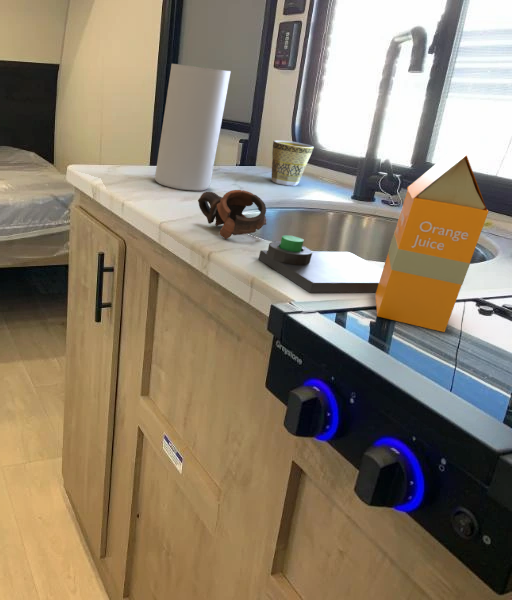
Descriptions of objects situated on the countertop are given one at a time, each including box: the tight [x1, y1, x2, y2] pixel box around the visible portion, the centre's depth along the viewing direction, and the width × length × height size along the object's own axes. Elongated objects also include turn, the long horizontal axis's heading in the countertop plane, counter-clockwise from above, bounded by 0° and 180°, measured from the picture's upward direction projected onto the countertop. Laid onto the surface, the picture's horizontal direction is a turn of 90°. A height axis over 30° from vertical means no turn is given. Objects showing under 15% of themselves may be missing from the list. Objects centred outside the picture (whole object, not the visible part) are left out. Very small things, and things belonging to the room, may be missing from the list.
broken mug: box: [197, 189, 267, 240], centre depth 100 cm, size 12×10×8 cm
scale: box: [258, 240, 383, 294], centre depth 85 cm, size 16×13×3 cm
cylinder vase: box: [154, 63, 232, 192], centre depth 131 cm, size 12×12×25 cm
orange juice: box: [374, 146, 489, 333], centre depth 71 cm, size 8×9×20 cm
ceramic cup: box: [270, 139, 314, 187], centre depth 155 cm, size 13×10×10 cm
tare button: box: [280, 235, 305, 252], centre depth 85 cm, size 3×3×2 cm
